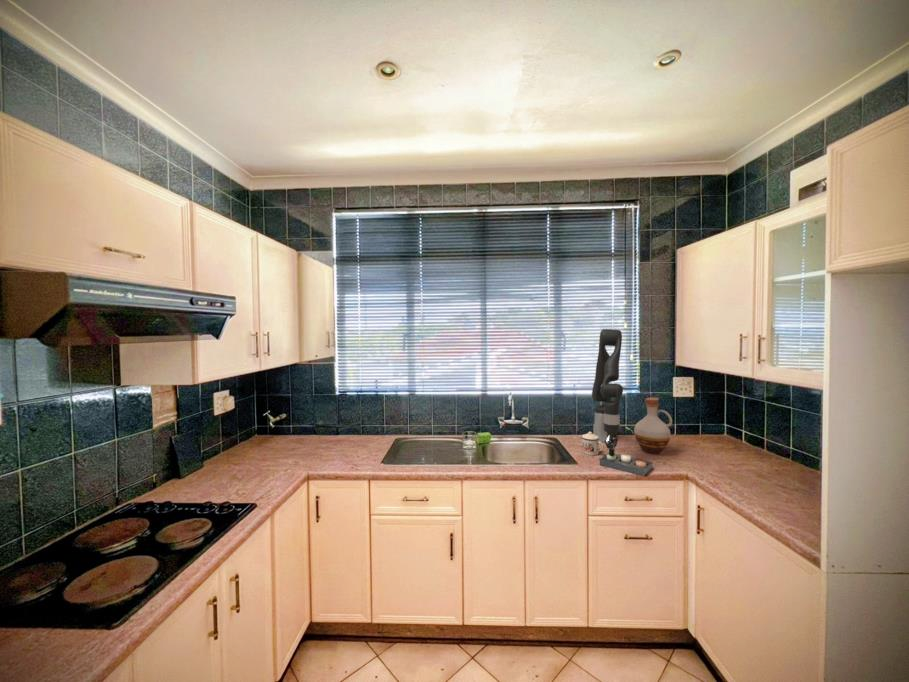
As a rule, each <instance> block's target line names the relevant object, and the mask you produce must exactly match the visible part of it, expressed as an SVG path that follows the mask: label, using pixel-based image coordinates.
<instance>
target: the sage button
mask: <svg viewBox="0 0 909 682" xmlns="http://www.w3.org/2000/svg"><path fill="white" fill-rule="evenodd" d="M606 454H607V458H608V459H613V460H616V455H614V456H609V454H608V453H606Z"/></svg>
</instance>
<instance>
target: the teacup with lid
mask: <svg viewBox="0 0 909 682" xmlns="http://www.w3.org/2000/svg"><path fill="white" fill-rule="evenodd" d="M599 445H601V448H599ZM604 448H605V445H604V442H600V441H599V437H598V436H596V435H594V434H593V432H592V431H588V432H587V433H584V434H582V435H581V452H582V454H585V455H588V456H597V455H599V452H601V451H602V450H604Z"/></svg>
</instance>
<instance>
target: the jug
mask: <svg viewBox="0 0 909 682" xmlns="http://www.w3.org/2000/svg"><path fill="white" fill-rule="evenodd" d="M659 399H660V398H659V397H646V398H645V399H644V400H645V404H644V405H645V406H646V409H647V410H646V412H647V413H646V415H645V416H644V417H642V419H640V420H639V421H638V422H636V423H635V425H634V428H633V433H634V437H635V440H636V442H637V443H638V444H637V445H639V446H640V448H641V449H642V451H644V452H645V453H647V454H653V455H654V454H655V455H656V454H660V453H661V452H662V451H664V450H665V449H666V447H668V444H669V442H670V439H671V429H670V427H671V426H672V425H673V418H672V416H671V414H670V413H669V412H668V411H666V410H665V409H658V408H659V406H660V404H659ZM659 413H663V414H664V415H666V416H667V417H668V421H669V422H668V424H666V423H665V422H664V421H662V419H661V418H659V416H658V414H659Z"/></svg>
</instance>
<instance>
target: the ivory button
mask: <svg viewBox="0 0 909 682" xmlns="http://www.w3.org/2000/svg"><path fill="white" fill-rule="evenodd" d="M620 455H621V462H625V463H629V464H630V463H631V458H632V457H631V455H630V454H625V453H623V454H622V453H621V454H620Z"/></svg>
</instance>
